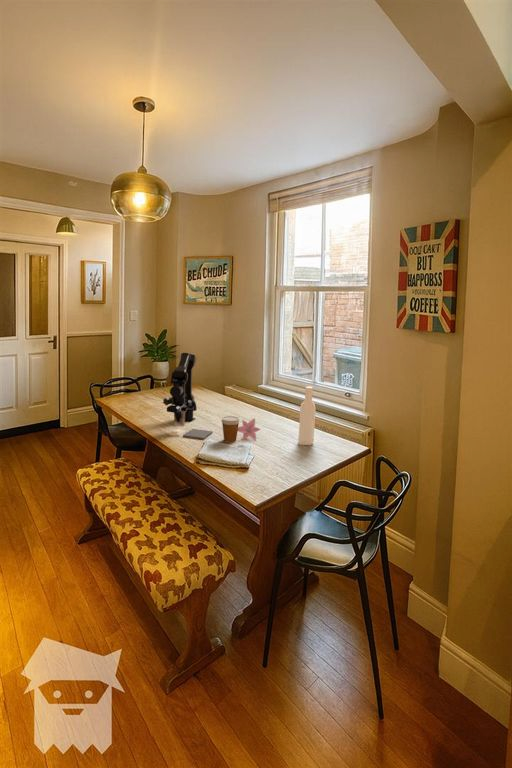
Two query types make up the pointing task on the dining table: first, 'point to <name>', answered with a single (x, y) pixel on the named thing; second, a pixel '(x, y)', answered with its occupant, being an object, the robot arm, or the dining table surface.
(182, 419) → the brown wooden block
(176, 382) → the robot arm
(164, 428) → the dining table surface
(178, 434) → the tile
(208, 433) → the rest mat
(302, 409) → the bottle
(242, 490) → the dining table surface
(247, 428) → the lily
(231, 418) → the disposable coffee cup
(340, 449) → the dining table surface
